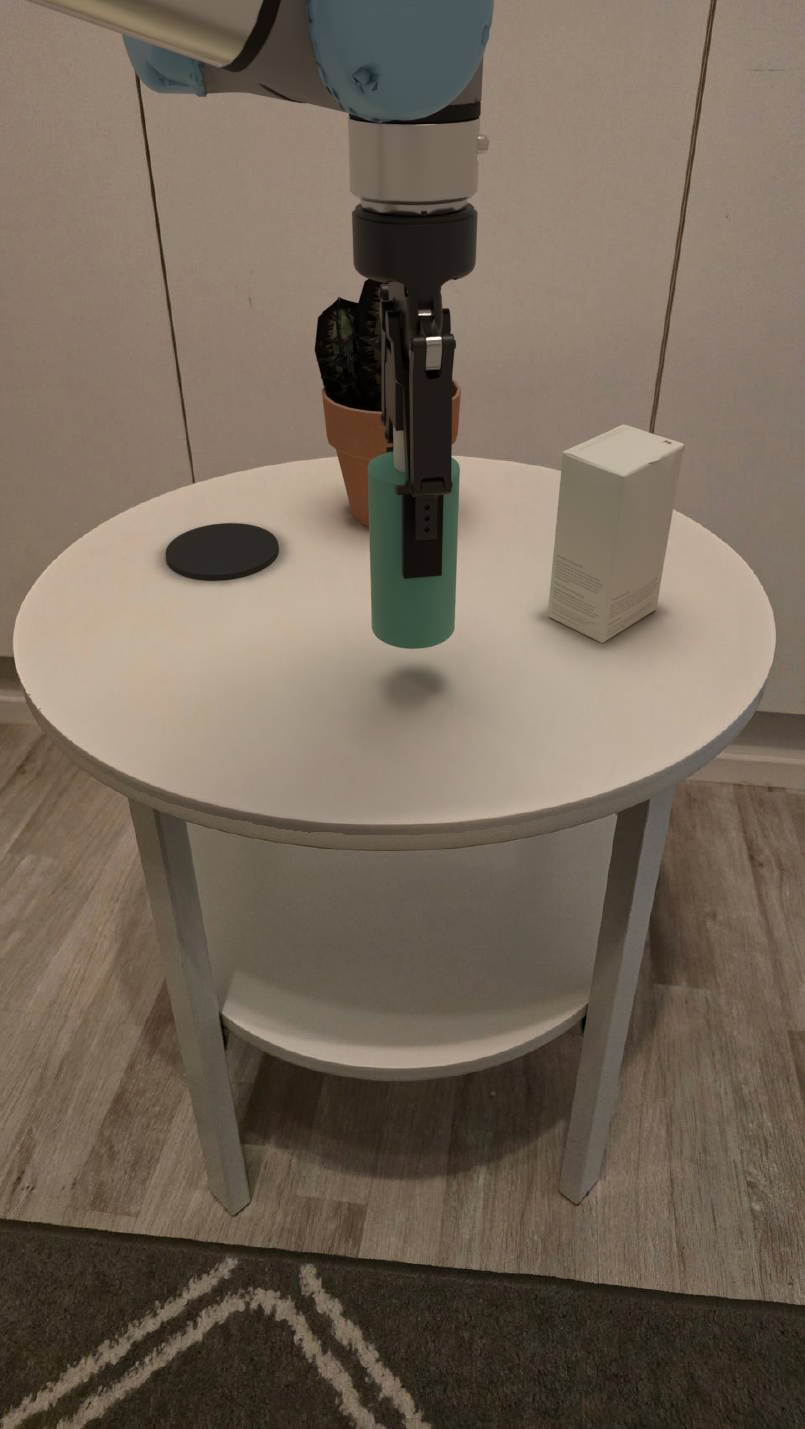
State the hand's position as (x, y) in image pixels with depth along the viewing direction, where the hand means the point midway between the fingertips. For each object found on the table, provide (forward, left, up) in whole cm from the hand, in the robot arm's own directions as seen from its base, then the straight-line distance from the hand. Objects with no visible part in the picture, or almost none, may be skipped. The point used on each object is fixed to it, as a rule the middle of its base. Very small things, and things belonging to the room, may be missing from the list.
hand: (413, 551), depth 72 cm
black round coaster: (-15, +25, -12) cm, 31 cm away
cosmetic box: (+18, +7, -12) cm, 23 cm away
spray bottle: (0, 0, -6) cm, 6 cm away
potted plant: (+3, +31, -12) cm, 33 cm away
